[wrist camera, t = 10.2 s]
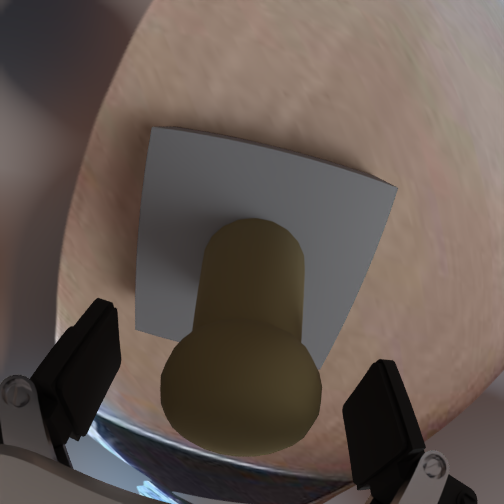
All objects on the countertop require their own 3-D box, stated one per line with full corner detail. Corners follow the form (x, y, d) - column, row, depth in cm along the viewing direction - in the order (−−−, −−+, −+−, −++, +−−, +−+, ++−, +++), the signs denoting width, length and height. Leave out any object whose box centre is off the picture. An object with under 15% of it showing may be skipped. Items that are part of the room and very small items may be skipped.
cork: (240, 324, 19) (219, 482, 9) (182, 253, 17) (96, 400, 7) (322, 281, 17) (369, 444, 7) (269, 197, 15) (272, 329, 5)
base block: (173, 126, 18) (152, 126, 14) (374, 176, 18) (398, 187, 15) (152, 300, 23) (135, 329, 20) (314, 336, 24) (319, 369, 20)
